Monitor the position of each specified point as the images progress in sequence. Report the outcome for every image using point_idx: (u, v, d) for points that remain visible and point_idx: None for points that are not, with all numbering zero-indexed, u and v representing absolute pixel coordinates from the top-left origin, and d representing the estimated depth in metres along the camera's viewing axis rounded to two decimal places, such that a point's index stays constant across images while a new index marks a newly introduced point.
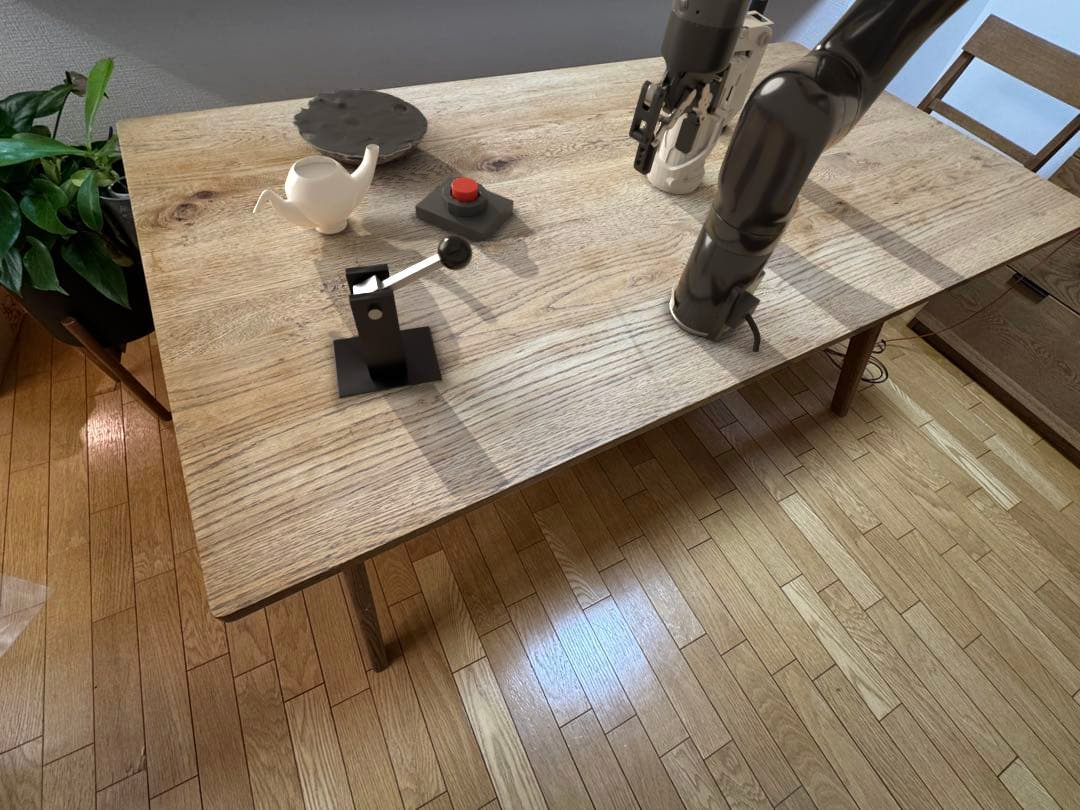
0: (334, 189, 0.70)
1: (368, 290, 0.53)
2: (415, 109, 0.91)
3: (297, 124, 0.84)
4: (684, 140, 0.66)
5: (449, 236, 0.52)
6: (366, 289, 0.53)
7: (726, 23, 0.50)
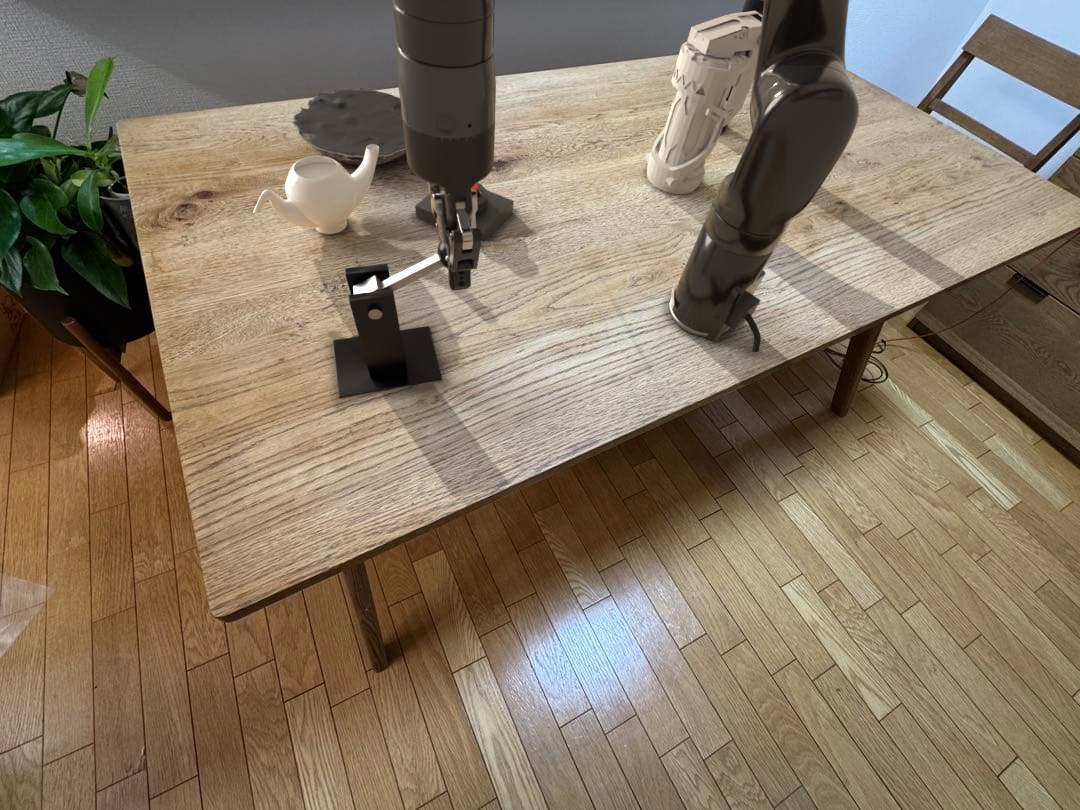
0: (334, 189, 0.70)
1: (368, 290, 0.53)
2: None
3: (297, 124, 0.84)
4: None
5: None
6: (366, 289, 0.53)
7: (493, 118, 0.41)
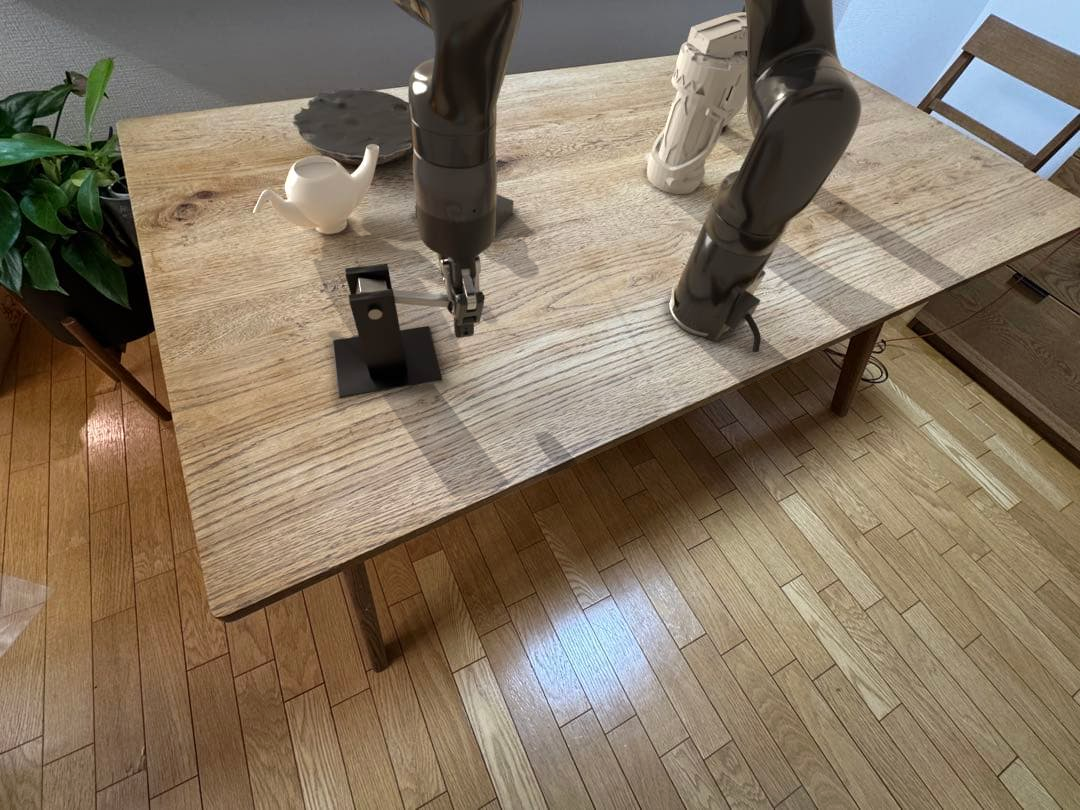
0: (334, 189, 0.70)
1: (377, 290, 0.53)
2: None
3: (297, 124, 0.84)
4: None
5: None
6: (374, 288, 0.54)
7: (495, 200, 0.48)
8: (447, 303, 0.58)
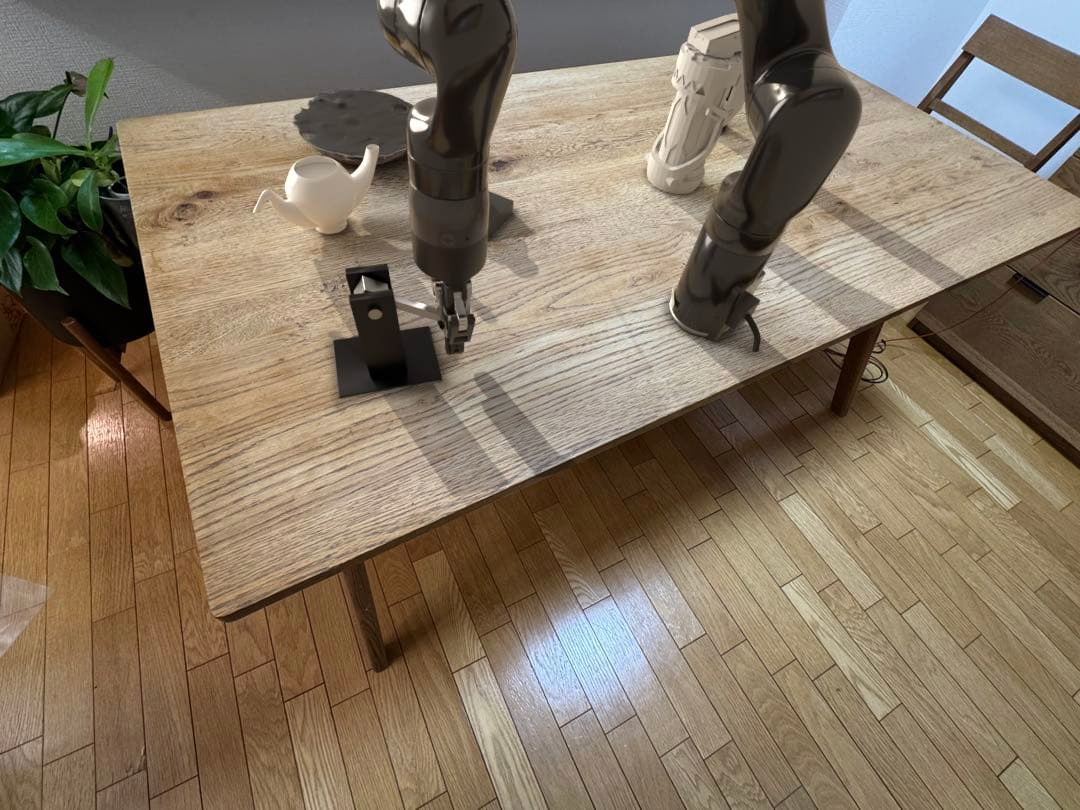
0: (334, 189, 0.70)
1: None
2: None
3: (297, 124, 0.84)
4: None
5: None
6: (377, 289, 0.54)
7: (487, 228, 0.50)
8: None
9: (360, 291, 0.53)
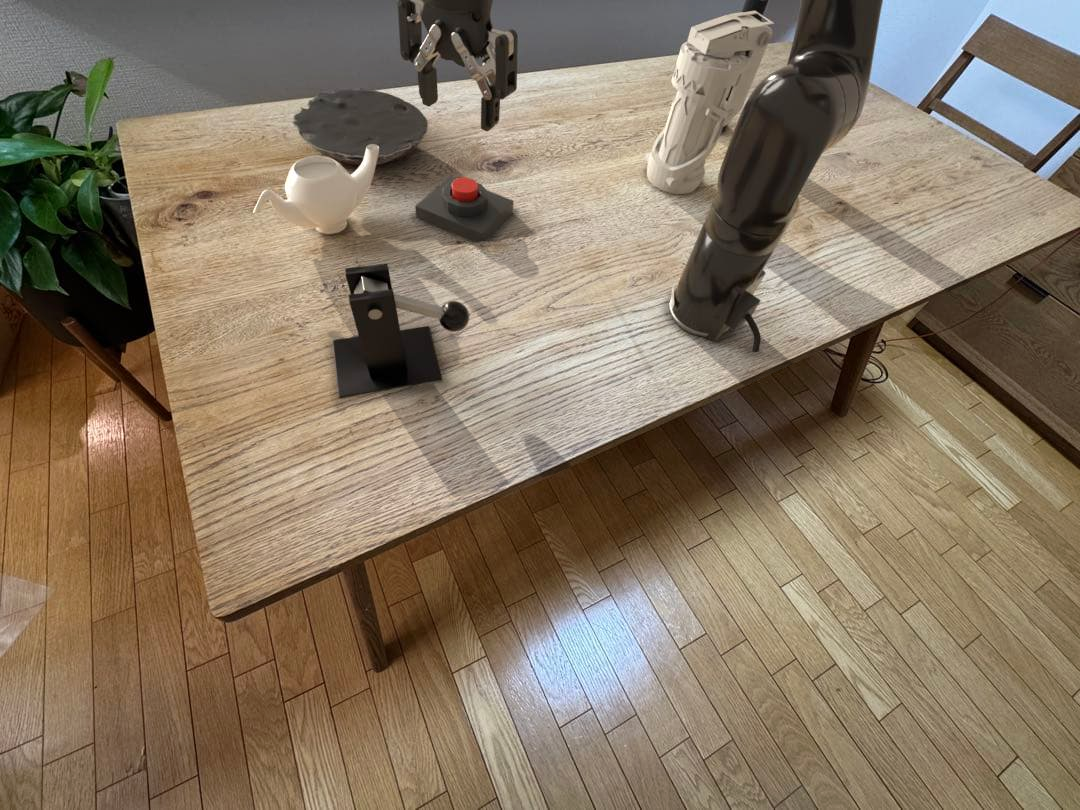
0: (334, 189, 0.70)
1: None
2: (415, 109, 0.91)
3: (297, 124, 0.84)
4: (432, 91, 0.62)
5: (462, 304, 0.60)
6: (377, 289, 0.54)
7: None
8: (441, 315, 0.59)
9: (360, 291, 0.53)
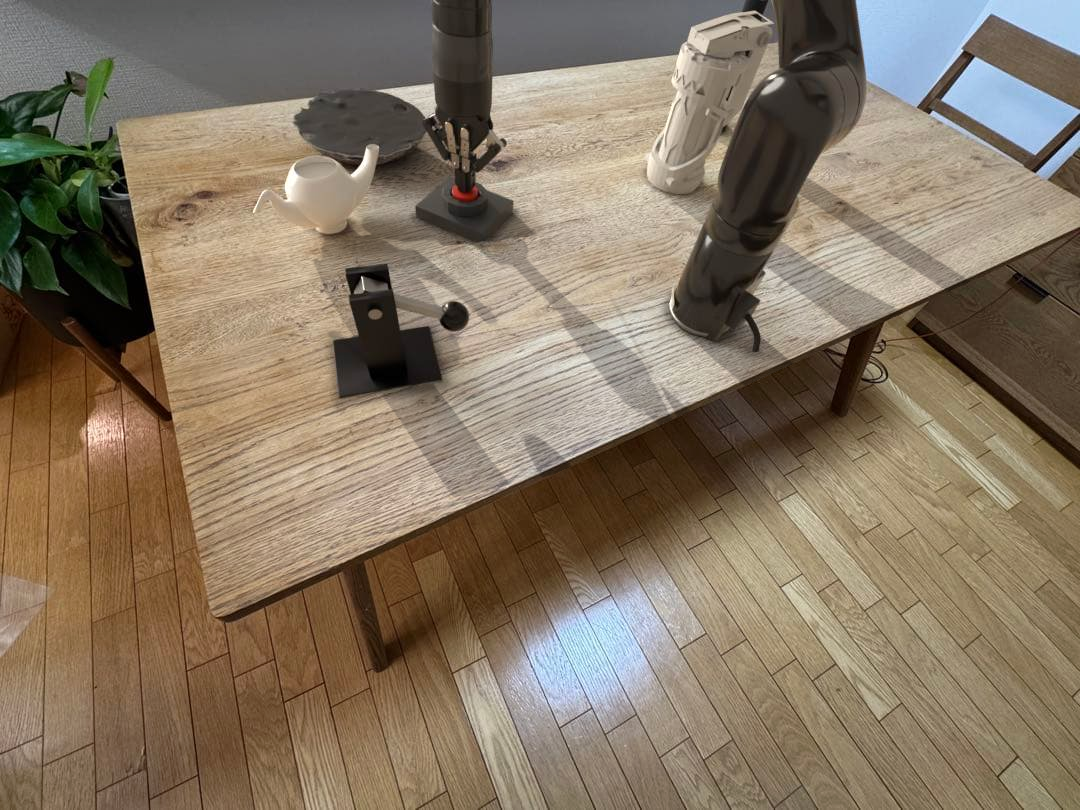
0: (334, 189, 0.70)
1: None
2: (415, 109, 0.91)
3: (297, 124, 0.84)
4: None
5: (462, 304, 0.60)
6: (377, 289, 0.54)
7: None
8: (441, 315, 0.59)
9: (360, 291, 0.53)
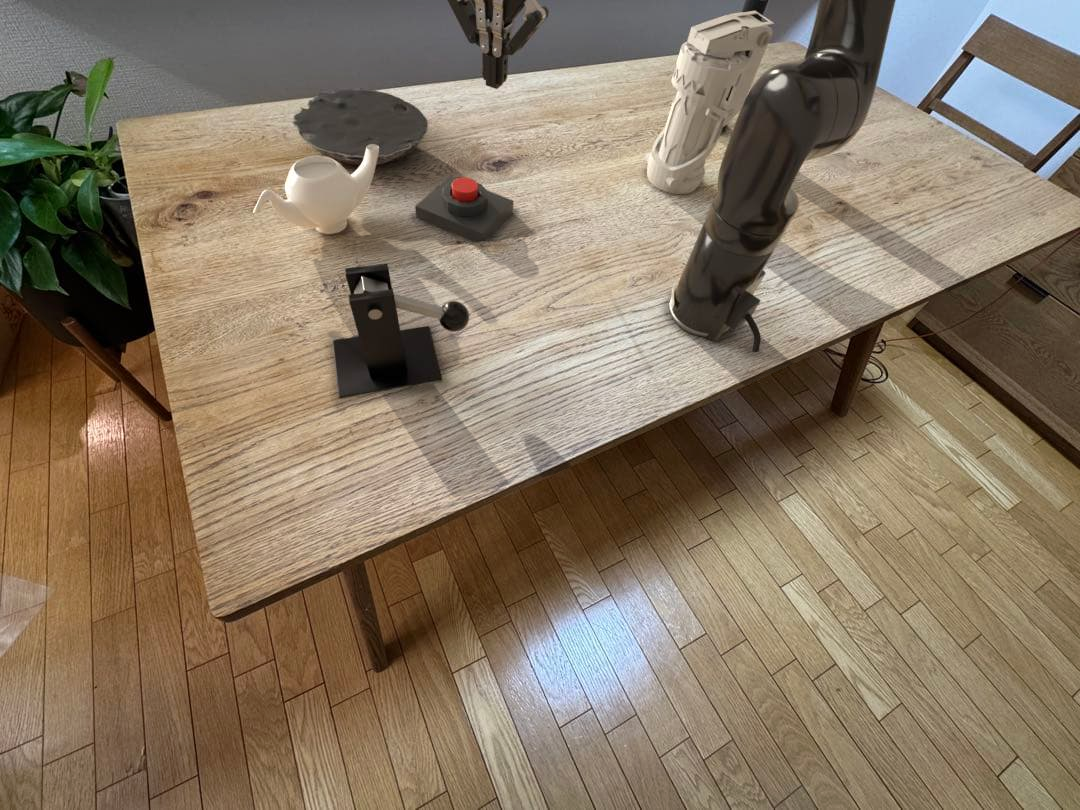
0: (334, 189, 0.70)
1: None
2: (415, 109, 0.91)
3: (297, 124, 0.84)
4: None
5: (462, 304, 0.60)
6: (377, 289, 0.54)
7: None
8: (441, 315, 0.59)
9: (360, 291, 0.53)
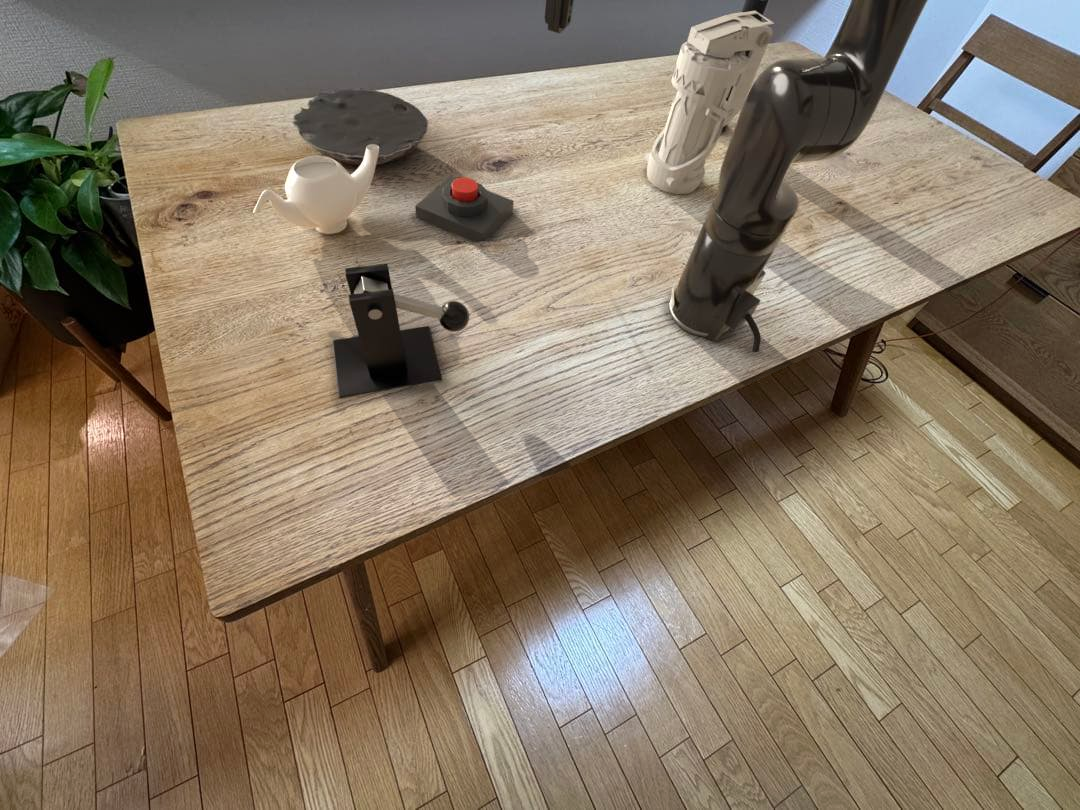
0: (334, 189, 0.70)
1: None
2: (415, 109, 0.91)
3: (297, 124, 0.84)
4: None
5: (462, 304, 0.60)
6: (377, 289, 0.54)
7: None
8: (441, 315, 0.59)
9: (360, 291, 0.53)
